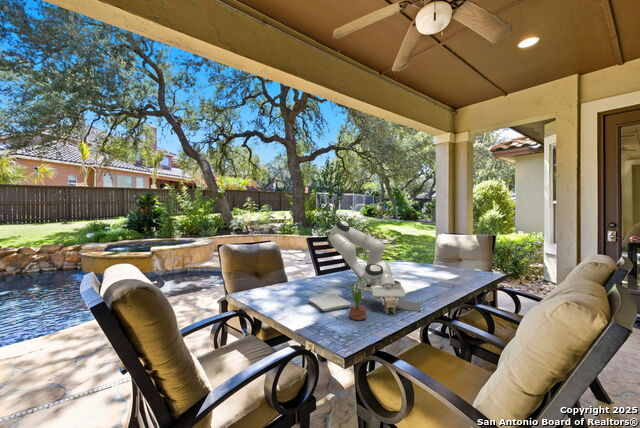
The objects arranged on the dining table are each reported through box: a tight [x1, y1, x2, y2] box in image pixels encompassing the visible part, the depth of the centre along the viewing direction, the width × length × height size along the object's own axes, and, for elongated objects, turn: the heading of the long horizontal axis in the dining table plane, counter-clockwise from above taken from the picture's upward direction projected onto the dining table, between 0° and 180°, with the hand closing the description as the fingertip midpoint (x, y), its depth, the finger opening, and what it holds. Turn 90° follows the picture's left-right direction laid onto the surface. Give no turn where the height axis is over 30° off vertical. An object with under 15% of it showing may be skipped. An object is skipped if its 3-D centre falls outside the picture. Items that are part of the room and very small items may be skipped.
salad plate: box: [308, 293, 352, 312], centre depth 183 cm, size 21×21×3 cm
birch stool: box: [383, 297, 397, 316], centre depth 171 cm, size 6×6×9 cm
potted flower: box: [348, 275, 370, 321], centre depth 163 cm, size 12×10×25 cm
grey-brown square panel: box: [395, 299, 422, 313], centre depth 183 cm, size 16×16×1 cm
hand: (390, 305), depth 170 cm, fingers closed on birch stool, 6 cm apart
